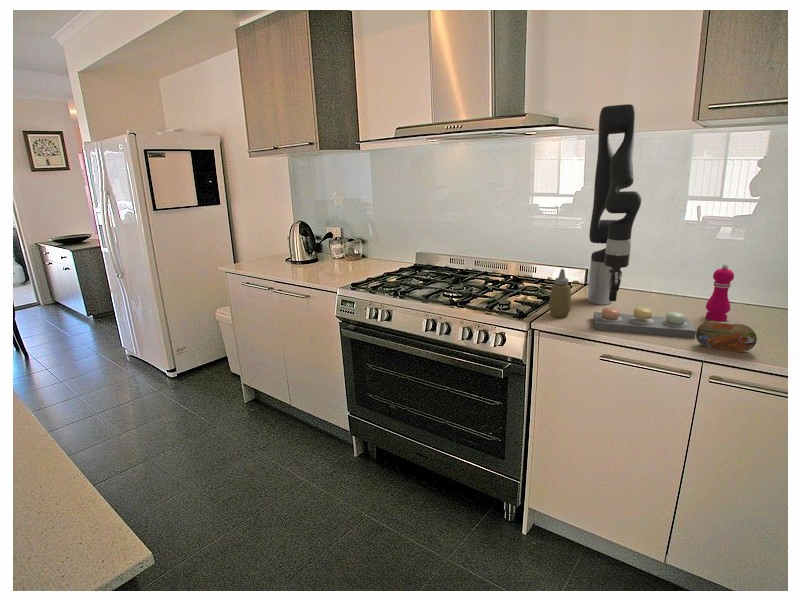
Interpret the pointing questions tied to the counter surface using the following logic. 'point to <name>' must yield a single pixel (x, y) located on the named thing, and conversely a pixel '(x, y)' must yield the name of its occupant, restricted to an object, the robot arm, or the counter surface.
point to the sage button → (675, 318)
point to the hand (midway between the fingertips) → (612, 300)
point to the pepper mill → (720, 295)
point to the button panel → (644, 325)
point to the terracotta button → (610, 313)
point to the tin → (726, 336)
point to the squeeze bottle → (560, 297)
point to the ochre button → (642, 313)
